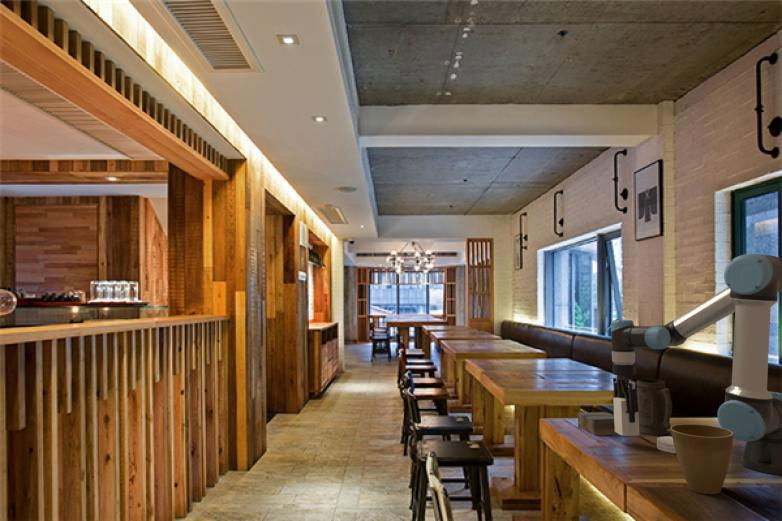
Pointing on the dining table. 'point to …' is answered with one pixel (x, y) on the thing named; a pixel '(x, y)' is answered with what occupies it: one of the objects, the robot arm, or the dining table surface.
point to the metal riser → (597, 423)
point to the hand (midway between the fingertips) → (626, 429)
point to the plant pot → (703, 455)
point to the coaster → (666, 444)
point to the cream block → (623, 418)
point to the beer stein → (653, 406)
